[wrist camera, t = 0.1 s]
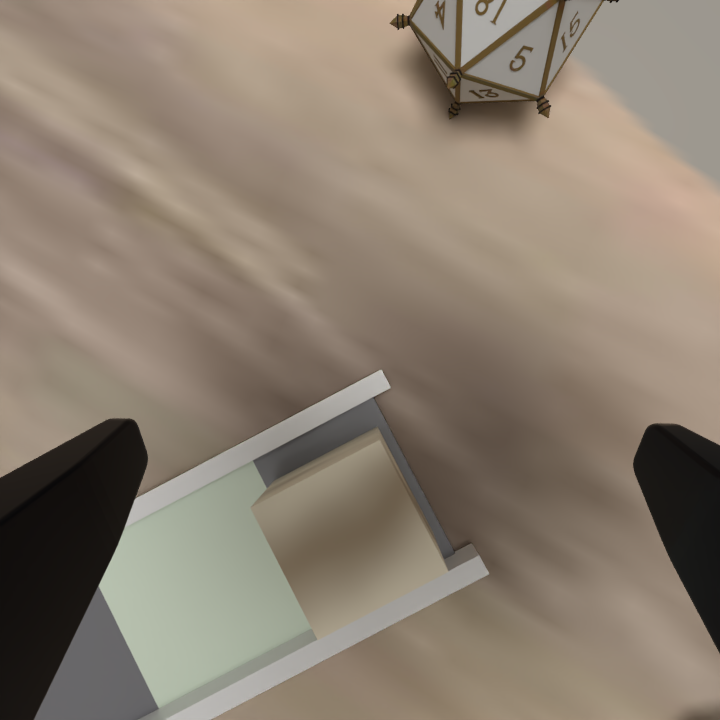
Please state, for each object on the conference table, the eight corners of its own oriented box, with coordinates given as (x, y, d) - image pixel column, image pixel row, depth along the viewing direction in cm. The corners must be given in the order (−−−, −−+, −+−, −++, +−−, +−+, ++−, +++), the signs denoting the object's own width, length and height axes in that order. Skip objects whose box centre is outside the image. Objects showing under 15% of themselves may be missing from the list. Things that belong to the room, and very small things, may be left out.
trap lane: (481, 560, 22) (489, 574, 21) (31, 795, 22) (7, 825, 21) (380, 369, 23) (381, 369, 21) (-61, 601, 23) (-92, 617, 21)
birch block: (432, 531, 22) (448, 571, 18) (328, 586, 22) (317, 640, 18) (377, 426, 22) (379, 439, 18) (274, 480, 22) (250, 507, 18)
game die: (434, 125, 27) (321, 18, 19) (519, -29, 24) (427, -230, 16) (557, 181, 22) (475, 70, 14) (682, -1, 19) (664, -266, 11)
